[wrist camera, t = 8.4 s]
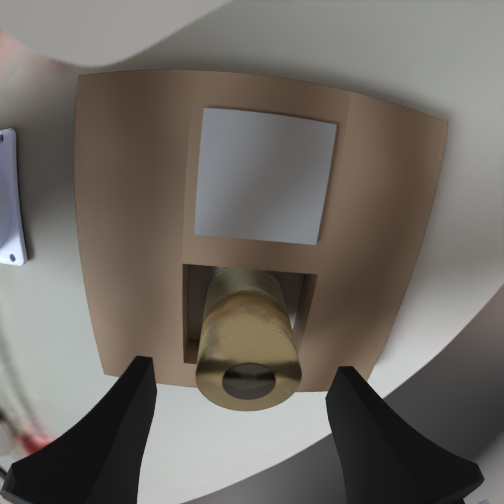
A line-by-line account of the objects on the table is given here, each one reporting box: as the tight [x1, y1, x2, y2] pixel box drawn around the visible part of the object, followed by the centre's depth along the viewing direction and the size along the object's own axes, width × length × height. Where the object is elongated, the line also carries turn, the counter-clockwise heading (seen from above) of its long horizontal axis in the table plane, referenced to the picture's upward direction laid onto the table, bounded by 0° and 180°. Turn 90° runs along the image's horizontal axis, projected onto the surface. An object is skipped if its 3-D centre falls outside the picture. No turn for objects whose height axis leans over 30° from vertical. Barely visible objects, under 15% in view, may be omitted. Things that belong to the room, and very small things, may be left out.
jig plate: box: [74, 70, 448, 392], centre depth 14 cm, size 16×16×2 cm
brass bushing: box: [195, 267, 302, 411], centre depth 14 cm, size 4×4×6 cm
